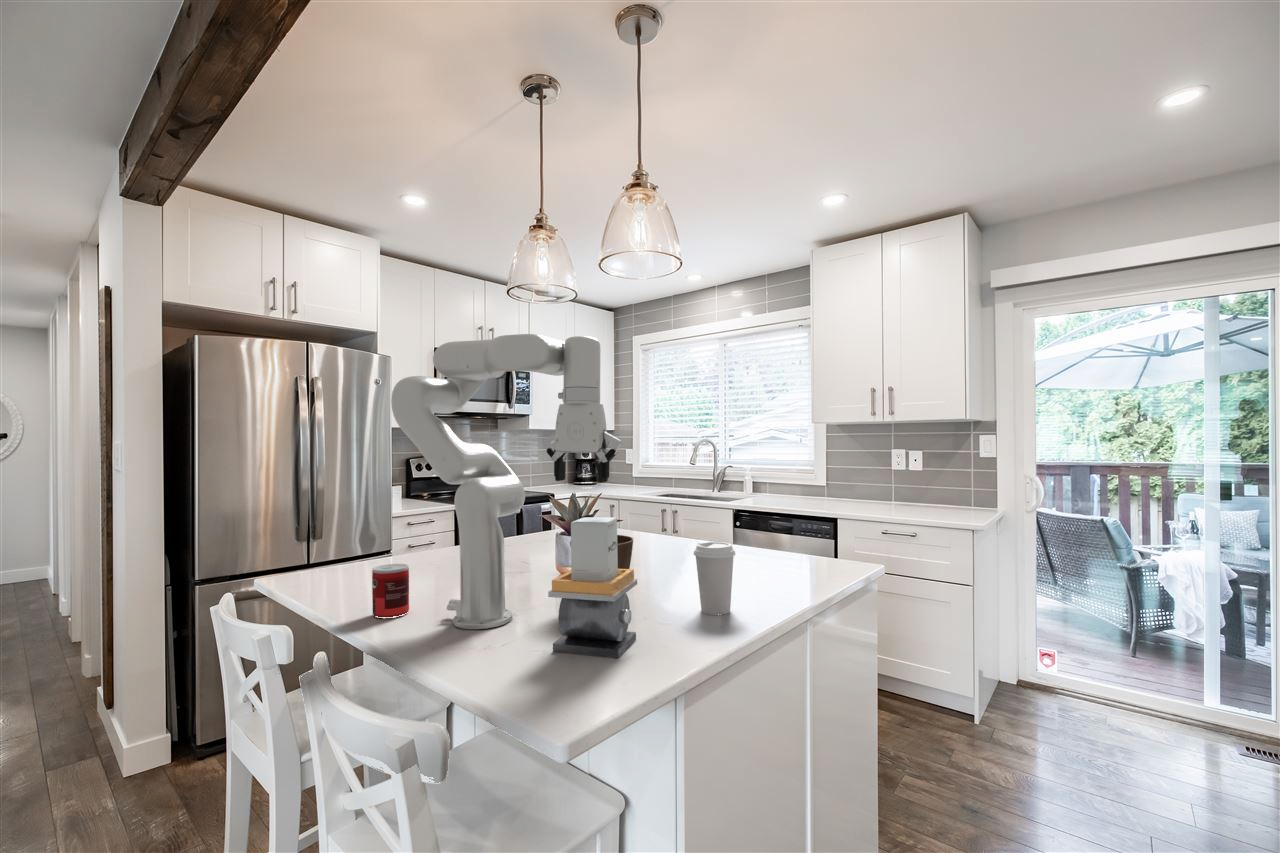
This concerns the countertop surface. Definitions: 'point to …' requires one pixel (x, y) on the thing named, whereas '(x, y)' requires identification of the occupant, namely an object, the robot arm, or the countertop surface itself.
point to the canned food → (390, 590)
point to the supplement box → (594, 549)
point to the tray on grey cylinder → (594, 615)
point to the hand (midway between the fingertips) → (581, 481)
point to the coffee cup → (715, 576)
